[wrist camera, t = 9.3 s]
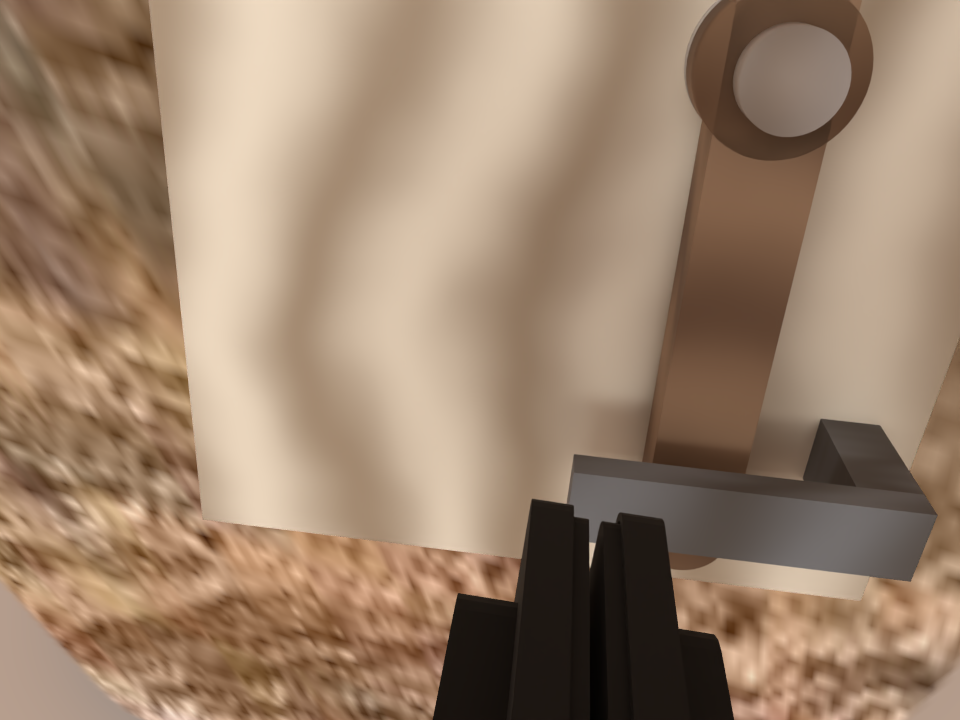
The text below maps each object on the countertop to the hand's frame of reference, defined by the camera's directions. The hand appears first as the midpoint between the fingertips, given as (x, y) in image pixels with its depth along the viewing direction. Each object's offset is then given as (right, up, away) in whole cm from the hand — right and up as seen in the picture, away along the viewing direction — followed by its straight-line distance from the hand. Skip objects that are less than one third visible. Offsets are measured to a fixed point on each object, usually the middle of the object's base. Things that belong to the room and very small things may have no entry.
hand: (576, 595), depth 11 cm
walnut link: (+6, +5, +15) cm, 18 cm away
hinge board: (+1, +7, +17) cm, 18 cm away
